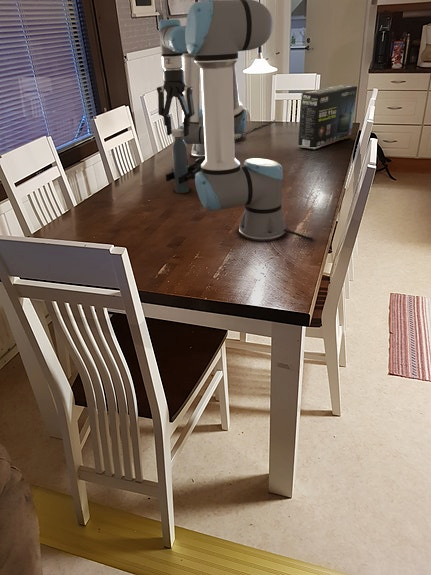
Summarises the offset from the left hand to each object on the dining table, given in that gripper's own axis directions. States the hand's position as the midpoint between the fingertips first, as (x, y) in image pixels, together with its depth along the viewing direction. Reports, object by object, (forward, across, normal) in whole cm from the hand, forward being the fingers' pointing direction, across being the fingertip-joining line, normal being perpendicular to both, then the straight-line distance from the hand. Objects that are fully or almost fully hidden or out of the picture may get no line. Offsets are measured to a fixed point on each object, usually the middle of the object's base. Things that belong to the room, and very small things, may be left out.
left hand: (173, 179), depth 181 cm
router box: (-102, -21, -6) cm, 105 cm away
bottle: (-5, 0, -6) cm, 8 cm away
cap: (-5, 0, +17) cm, 18 cm away
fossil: (-89, +32, -6) cm, 95 cm away
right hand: (-5, 0, +16) cm, 17 cm away
